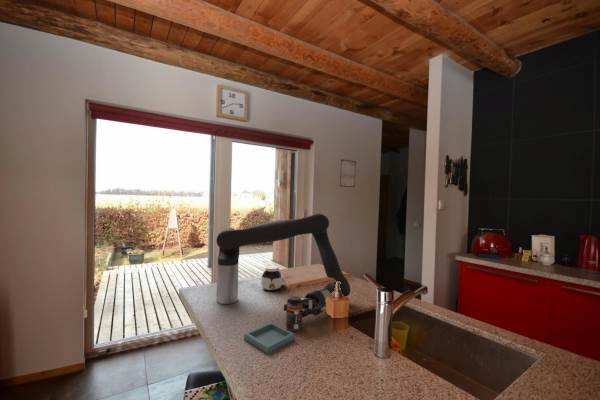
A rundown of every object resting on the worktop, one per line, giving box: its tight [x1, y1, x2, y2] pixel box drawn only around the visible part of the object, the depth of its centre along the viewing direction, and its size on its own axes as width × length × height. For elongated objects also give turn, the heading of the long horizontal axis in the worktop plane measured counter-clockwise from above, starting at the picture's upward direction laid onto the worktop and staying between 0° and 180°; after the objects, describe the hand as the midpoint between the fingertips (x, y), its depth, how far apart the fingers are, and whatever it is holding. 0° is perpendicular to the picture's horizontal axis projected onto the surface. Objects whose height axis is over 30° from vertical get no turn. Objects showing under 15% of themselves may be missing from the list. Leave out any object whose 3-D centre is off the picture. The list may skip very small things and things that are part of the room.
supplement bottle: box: [285, 295, 304, 332], centre depth 101 cm, size 6×6×11 cm
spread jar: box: [261, 265, 287, 292], centre depth 145 cm, size 12×11×12 cm
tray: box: [243, 321, 296, 356], centre depth 92 cm, size 12×12×2 cm
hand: (293, 311), depth 101 cm, fingers open, 8 cm apart
